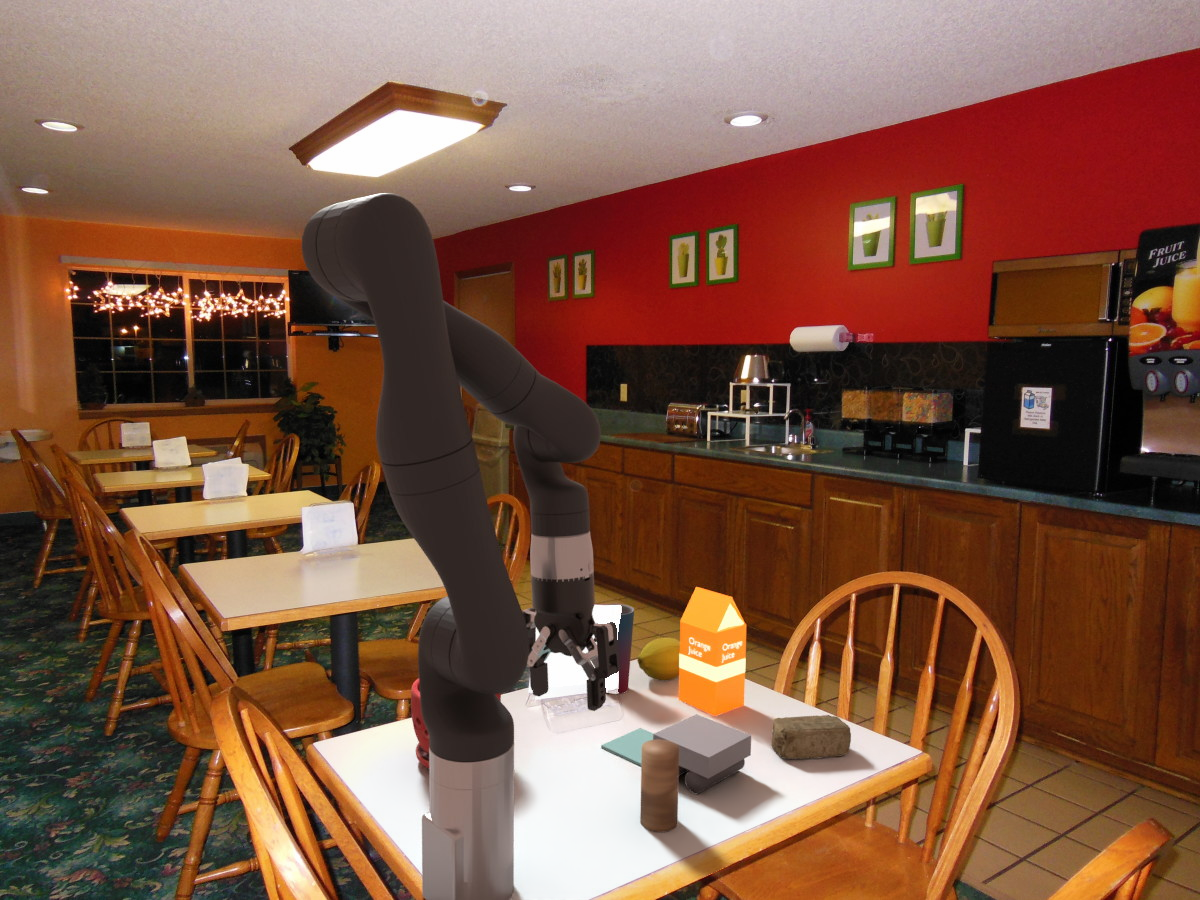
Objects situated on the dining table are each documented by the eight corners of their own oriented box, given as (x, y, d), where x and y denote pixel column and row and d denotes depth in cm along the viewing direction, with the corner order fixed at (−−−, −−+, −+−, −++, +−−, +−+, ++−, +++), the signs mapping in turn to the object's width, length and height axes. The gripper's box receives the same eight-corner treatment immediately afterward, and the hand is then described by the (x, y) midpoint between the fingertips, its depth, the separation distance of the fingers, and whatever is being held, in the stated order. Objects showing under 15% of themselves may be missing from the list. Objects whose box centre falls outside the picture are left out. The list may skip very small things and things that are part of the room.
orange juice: (707, 689, 152) (710, 583, 150) (744, 705, 145) (748, 593, 143) (677, 700, 147) (680, 590, 145) (714, 716, 140) (717, 601, 138)
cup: (626, 698, 147) (628, 616, 146) (590, 693, 149) (591, 612, 148) (637, 685, 154) (638, 606, 152) (602, 680, 156) (603, 602, 154)
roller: (660, 836, 104) (662, 760, 103) (632, 821, 107) (634, 747, 106) (684, 822, 107) (686, 748, 106) (657, 807, 110) (658, 736, 109)
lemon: (678, 669, 162) (679, 629, 161) (697, 683, 155) (698, 641, 154) (627, 676, 158) (628, 635, 157) (645, 691, 151) (646, 648, 150)
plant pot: (392, 769, 120) (392, 689, 119) (447, 734, 132) (447, 661, 131) (467, 790, 114) (467, 706, 113) (517, 751, 126) (517, 675, 125)
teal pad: (644, 767, 122) (644, 765, 121) (601, 747, 128) (601, 745, 128) (683, 748, 128) (683, 746, 128) (640, 730, 134) (640, 727, 134)
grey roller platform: (707, 799, 113) (708, 757, 112) (652, 773, 120) (653, 733, 119) (750, 774, 120) (751, 735, 119) (695, 751, 127) (696, 714, 126)
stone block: (852, 758, 126) (853, 726, 125) (781, 764, 124) (782, 732, 123) (835, 741, 132) (836, 711, 131) (766, 746, 129) (767, 716, 129)
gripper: (497, 569, 100) (503, 699, 101) (590, 582, 92) (596, 724, 93) (537, 558, 106) (543, 681, 107) (629, 569, 98) (633, 702, 99)
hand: (567, 701), depth 100 cm, fingers open, 8 cm apart
